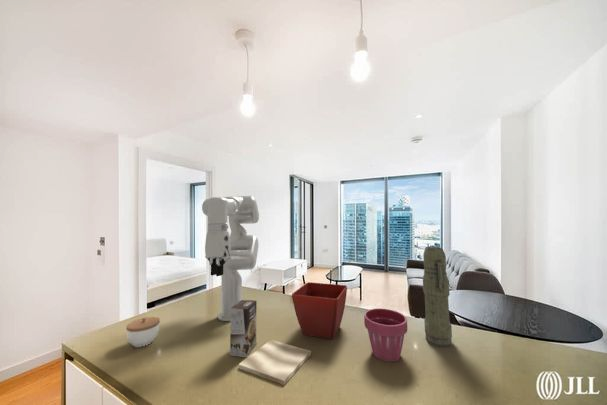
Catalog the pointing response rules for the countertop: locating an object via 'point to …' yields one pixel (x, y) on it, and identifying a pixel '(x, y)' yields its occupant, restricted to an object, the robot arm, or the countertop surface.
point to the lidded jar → (142, 331)
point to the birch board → (275, 361)
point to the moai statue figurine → (436, 298)
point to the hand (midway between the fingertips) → (217, 274)
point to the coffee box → (243, 328)
